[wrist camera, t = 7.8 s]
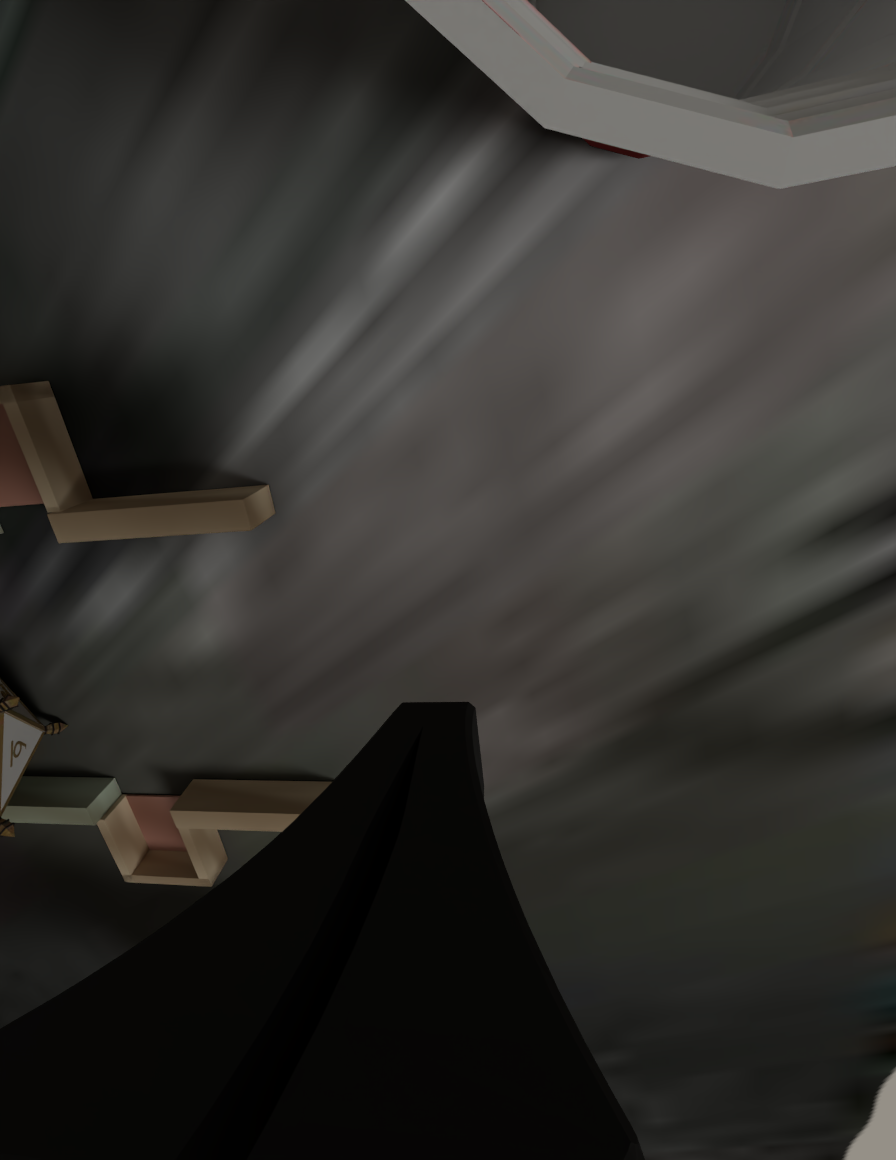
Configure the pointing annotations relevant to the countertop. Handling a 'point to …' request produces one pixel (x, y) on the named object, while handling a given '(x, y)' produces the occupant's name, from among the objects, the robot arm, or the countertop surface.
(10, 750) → the game die
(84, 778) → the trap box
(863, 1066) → the countertop surface
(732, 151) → the plastic cup
